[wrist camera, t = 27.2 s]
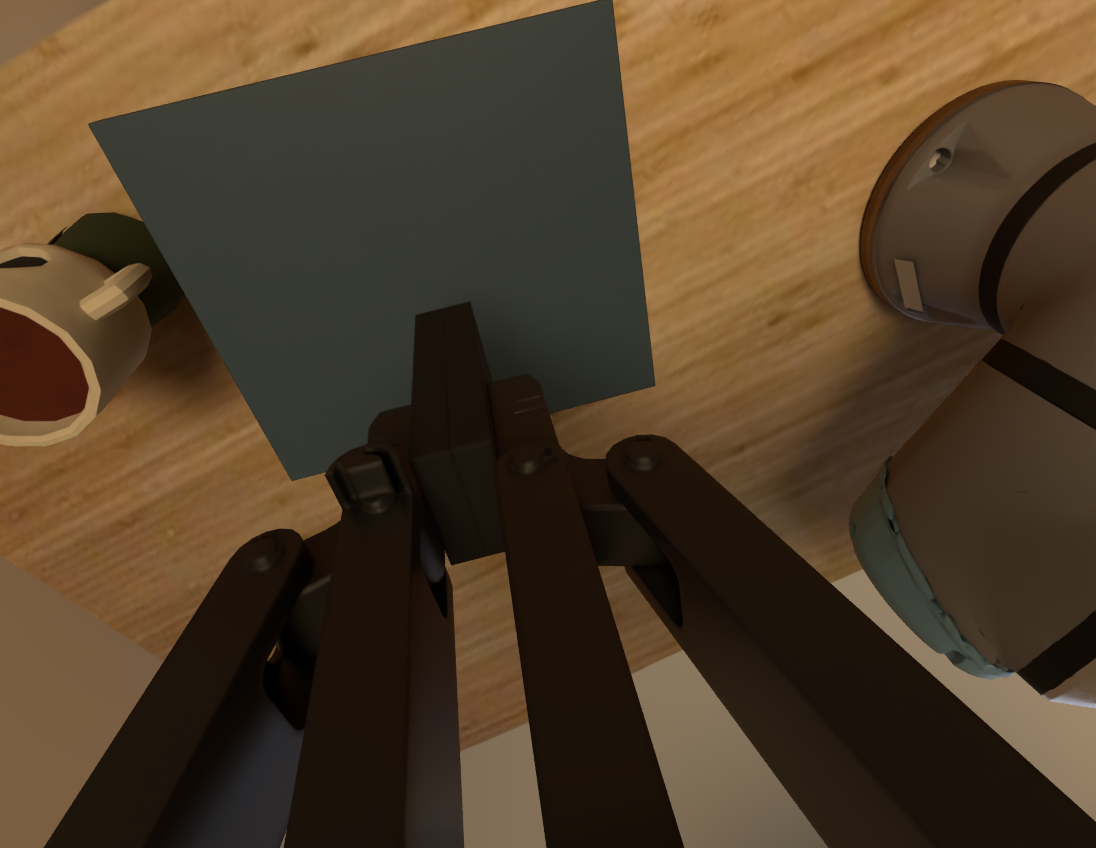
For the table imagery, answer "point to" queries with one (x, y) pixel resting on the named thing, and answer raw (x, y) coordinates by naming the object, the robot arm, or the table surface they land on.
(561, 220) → the bin lid
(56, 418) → the character mug
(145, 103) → the table surface
